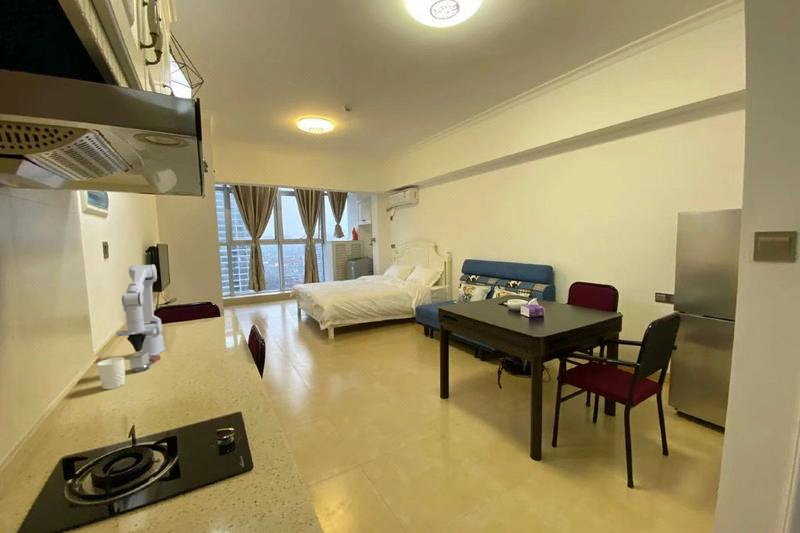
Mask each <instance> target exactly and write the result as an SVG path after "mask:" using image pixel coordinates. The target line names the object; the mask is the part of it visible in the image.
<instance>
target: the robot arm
mask: <svg viewBox="0 0 800 533" xmlns="http://www.w3.org/2000/svg"><path fill="white" fill-rule="evenodd" d="M128 274H129V277H130V279H131V280H132V282H130V283H129V284H128V286H127V289H126V292H125V293H124V294H122V296H121V304H122V308H123V311H124V312H125V319H126V320H125V321H126V327H127V330H125V329H124V330H118V331H116V332H115V333H116V334H115V335H116V338H118V337H127V338H126V340H127V341H128V342H129V343H130V344H131V345H132V347H133V349H134V352H136V353H140V352H148V355H149V357H151V356H156V355H160V353H162V352H164V351H165V350H166V349H167V347H165V343H164V337H163V335H162V332H163V325H162V324H163V323H162V319H161V318H159V317H158V316H156V315H155V312H154V297H153V296H154V295H153V284H154V283H155V282H157V279H158V276H157V275H158V274H157V268H156V265H155V264H153V263H152V264H141V265H140V264H139V265H130V266H129V269H128Z"/></svg>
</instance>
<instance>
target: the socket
mask: <svg viewBox="0 0 800 533" xmlns="http://www.w3.org/2000/svg"><path fill="white" fill-rule="evenodd" d="M149 358H150V356H149V355H148V352H142V351H140V352H136V353H134V354H131V355H130V356H128V361H129V369H132V368H139V367H144V366H145V365H147V364H148V363H149Z"/></svg>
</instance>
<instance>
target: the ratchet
mask: <svg viewBox="0 0 800 533" xmlns="http://www.w3.org/2000/svg"><path fill="white" fill-rule="evenodd" d="M160 360H161V355H160V354H157V355H154V356H149V363H148V364H147V365H145V366H144V367H139V368H131V373H133V374H134V373H135V374H136V373H142V372H146V371H148V370H149V369H150V367H151V366H152V365H154V364H155V363H157V362H158V361H160Z"/></svg>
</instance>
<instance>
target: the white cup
mask: <svg viewBox="0 0 800 533" xmlns="http://www.w3.org/2000/svg"><path fill="white" fill-rule="evenodd" d="M125 363H126V362H125V357H111V358H108V359H104V360H101V361H98V362H97V370H98V371H97V372H98V377H99V381H100V384H101V389H102V388H103V389H102V390H104V389H107V390H113V389H117V388H120V387H122V386H125V383H126V367H125Z"/></svg>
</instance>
